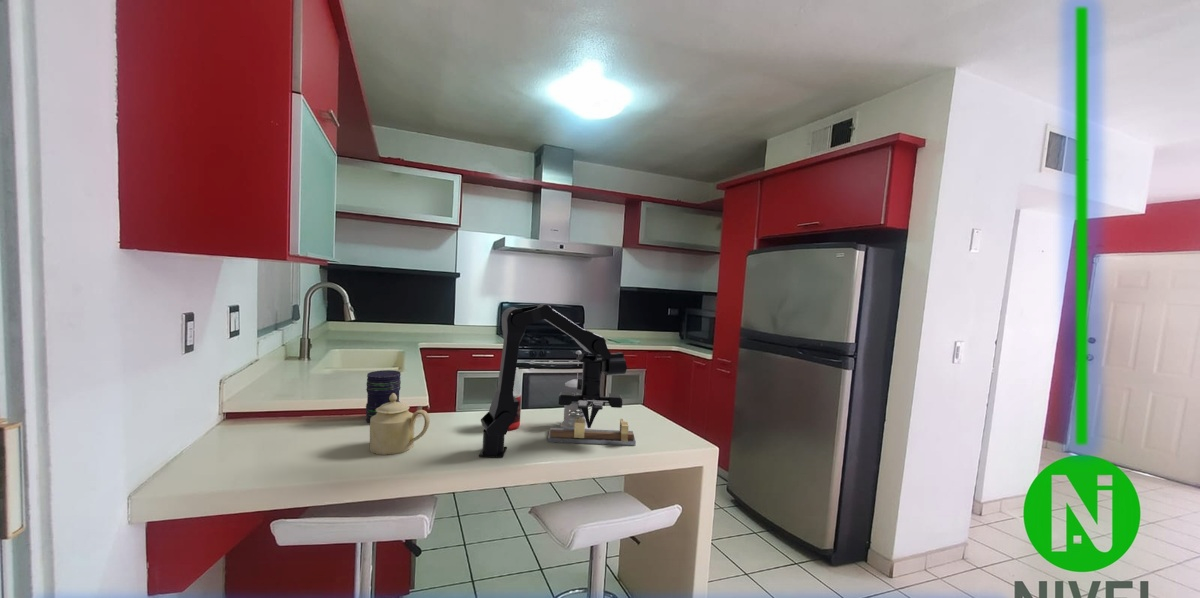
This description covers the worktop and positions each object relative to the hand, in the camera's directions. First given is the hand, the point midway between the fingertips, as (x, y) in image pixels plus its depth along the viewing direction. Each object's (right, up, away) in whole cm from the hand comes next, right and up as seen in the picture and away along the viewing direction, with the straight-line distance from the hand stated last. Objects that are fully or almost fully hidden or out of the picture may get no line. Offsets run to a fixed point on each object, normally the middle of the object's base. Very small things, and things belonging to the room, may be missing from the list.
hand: (589, 427), depth 133 cm
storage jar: (-67, -1, +10) cm, 67 cm away
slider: (-3, -2, +2) cm, 4 cm away
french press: (-4, -4, +14) cm, 15 cm away
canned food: (-26, -3, +9) cm, 28 cm away
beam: (+1, -3, +2) cm, 4 cm away
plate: (+1, -4, +3) cm, 5 cm away
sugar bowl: (-52, -2, -11) cm, 53 cm away
